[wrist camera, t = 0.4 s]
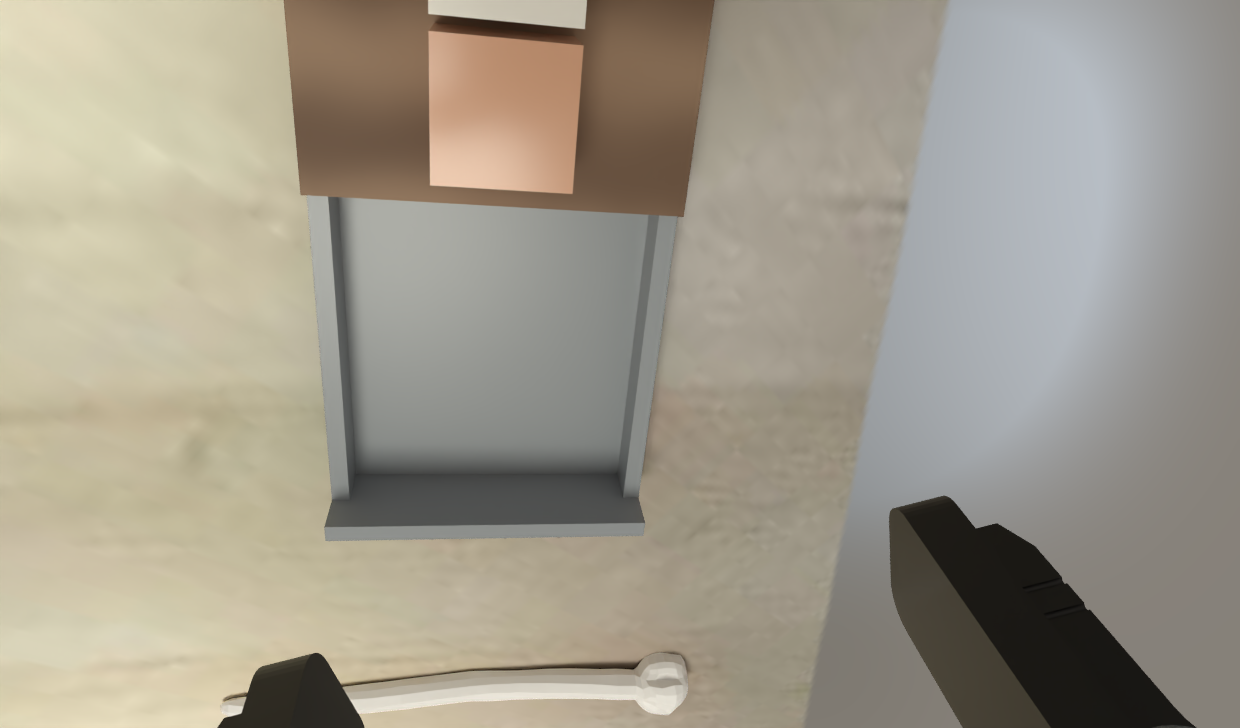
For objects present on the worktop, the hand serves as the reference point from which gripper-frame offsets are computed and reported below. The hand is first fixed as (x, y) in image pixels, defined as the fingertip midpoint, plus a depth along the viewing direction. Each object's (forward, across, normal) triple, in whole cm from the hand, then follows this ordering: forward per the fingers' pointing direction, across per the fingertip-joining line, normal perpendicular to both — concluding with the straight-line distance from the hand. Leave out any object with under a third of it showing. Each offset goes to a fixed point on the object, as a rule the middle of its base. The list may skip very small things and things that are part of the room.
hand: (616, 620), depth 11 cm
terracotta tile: (+23, +1, -3) cm, 23 cm away
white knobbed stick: (+26, +12, +31) cm, 43 cm away
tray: (+26, +4, +9) cm, 28 cm away
